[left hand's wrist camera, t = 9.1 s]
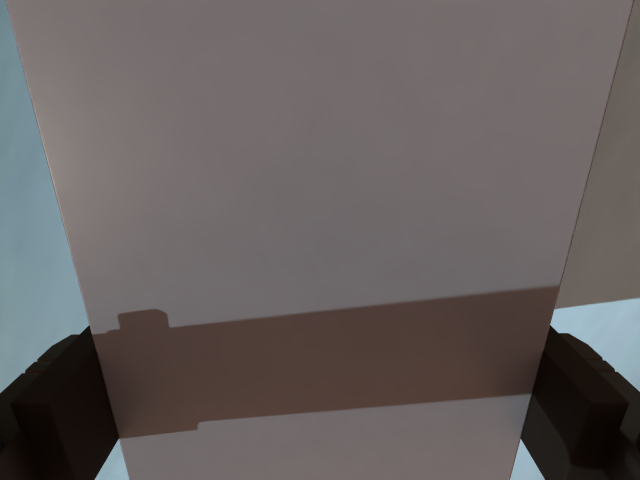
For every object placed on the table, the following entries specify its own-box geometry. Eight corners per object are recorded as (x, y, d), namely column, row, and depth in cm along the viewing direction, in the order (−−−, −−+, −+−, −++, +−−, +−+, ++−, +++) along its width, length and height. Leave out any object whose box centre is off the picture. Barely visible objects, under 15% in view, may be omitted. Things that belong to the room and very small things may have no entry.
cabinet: (185, -31, 14) (-71, -283, 5) (454, -31, 14) (710, -283, 5) (224, 328, 20) (140, 527, 11) (415, 328, 20) (498, 526, 11)
